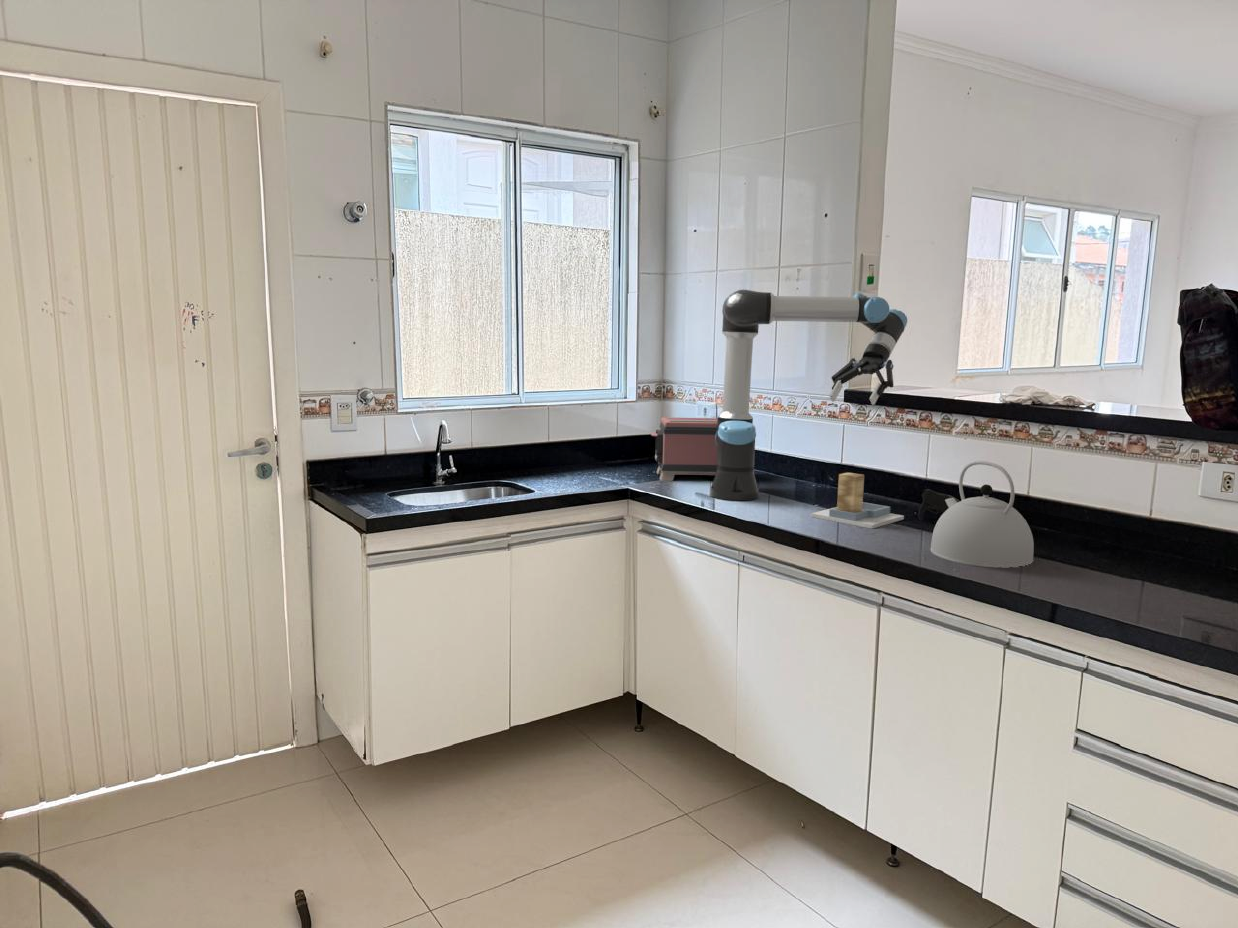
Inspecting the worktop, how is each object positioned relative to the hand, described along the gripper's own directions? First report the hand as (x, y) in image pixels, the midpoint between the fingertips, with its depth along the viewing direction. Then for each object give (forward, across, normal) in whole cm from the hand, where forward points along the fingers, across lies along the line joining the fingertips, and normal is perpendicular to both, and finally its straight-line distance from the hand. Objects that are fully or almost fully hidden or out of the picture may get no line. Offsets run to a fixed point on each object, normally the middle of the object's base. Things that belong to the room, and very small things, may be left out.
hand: (851, 400), depth 257 cm
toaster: (+23, +59, -22) cm, 67 cm away
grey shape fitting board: (+35, -14, -10) cm, 39 cm away
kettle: (+45, -54, 0) cm, 70 cm away
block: (+38, -14, -6) cm, 41 cm away
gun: (+25, -34, -20) cm, 47 cm away
